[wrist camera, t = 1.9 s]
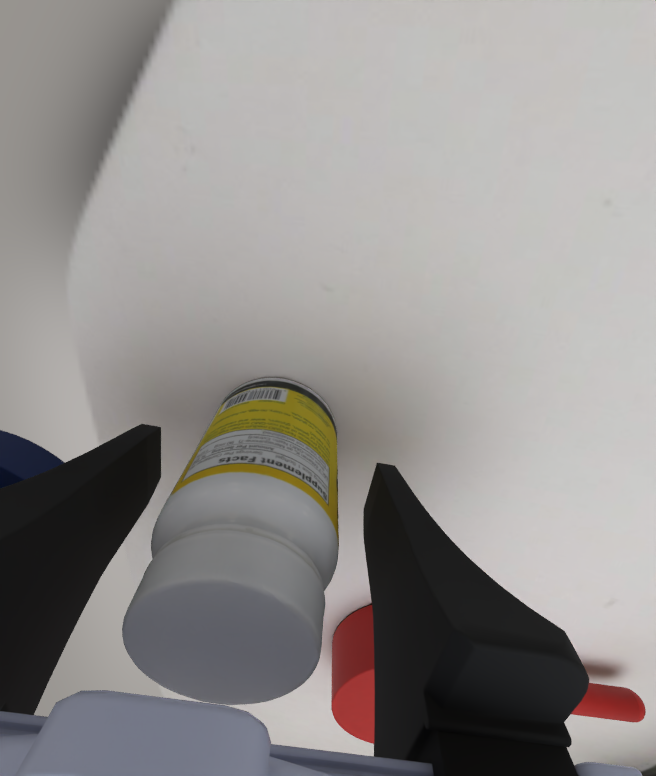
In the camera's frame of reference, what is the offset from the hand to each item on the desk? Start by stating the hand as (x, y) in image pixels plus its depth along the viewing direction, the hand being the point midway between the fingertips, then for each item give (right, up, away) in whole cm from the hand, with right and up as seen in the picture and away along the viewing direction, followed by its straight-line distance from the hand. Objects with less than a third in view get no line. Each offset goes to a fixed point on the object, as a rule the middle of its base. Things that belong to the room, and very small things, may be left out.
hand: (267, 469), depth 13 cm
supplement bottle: (0, +1, +3) cm, 3 cm away
